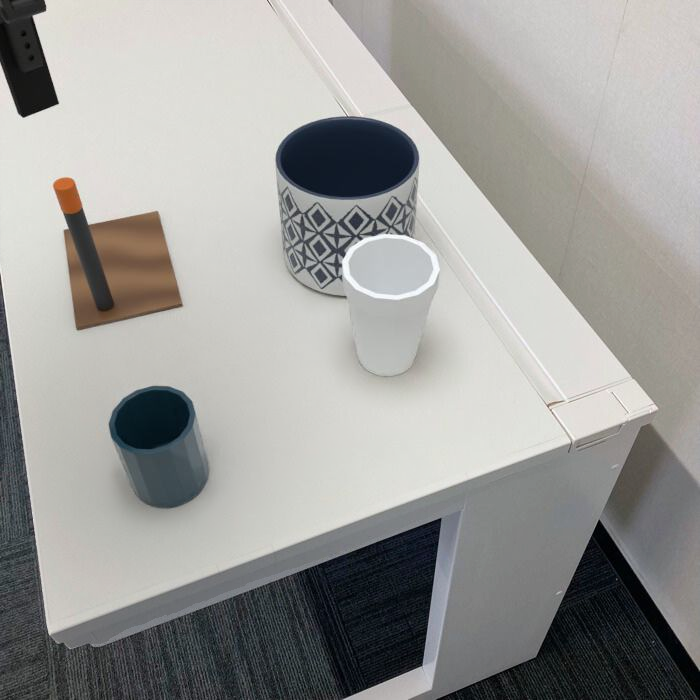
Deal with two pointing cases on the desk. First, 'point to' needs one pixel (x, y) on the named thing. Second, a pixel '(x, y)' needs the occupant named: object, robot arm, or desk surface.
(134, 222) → the brown wooden board
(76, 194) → the marker
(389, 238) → the foam cup
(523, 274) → the desk surface
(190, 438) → the pen cup
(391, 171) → the planter
